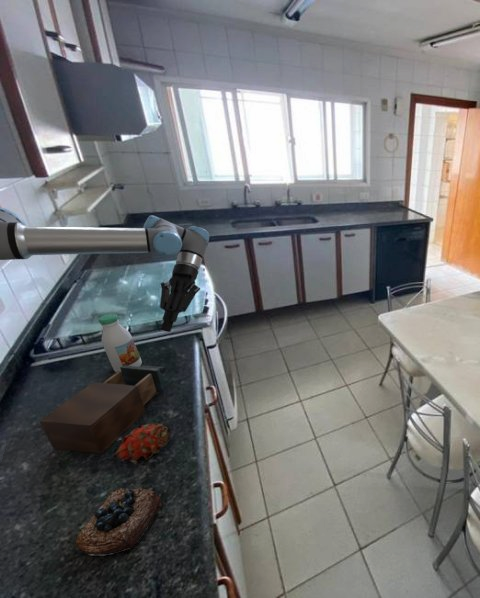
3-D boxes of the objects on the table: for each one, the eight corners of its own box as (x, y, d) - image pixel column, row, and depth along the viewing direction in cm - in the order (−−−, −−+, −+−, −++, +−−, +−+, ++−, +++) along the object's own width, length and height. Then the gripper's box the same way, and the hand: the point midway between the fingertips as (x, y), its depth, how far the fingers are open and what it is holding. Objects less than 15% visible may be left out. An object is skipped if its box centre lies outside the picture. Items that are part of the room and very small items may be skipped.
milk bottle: (115, 377, 108) (91, 325, 99) (114, 365, 114) (91, 315, 105) (143, 368, 113) (123, 318, 104) (141, 357, 118) (122, 308, 109)
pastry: (168, 495, 74) (161, 479, 71) (131, 557, 63) (120, 540, 60) (118, 496, 73) (108, 479, 70) (71, 558, 62) (58, 541, 60)
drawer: (140, 376, 108) (134, 357, 105) (174, 379, 108) (169, 360, 105) (91, 416, 92) (82, 394, 89) (131, 420, 92) (123, 398, 88)
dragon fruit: (181, 444, 88) (128, 474, 82) (168, 417, 90) (115, 444, 84) (173, 441, 81) (114, 473, 75) (159, 411, 83) (100, 440, 77)
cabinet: (103, 408, 96) (93, 381, 92) (146, 411, 96) (137, 385, 92) (53, 449, 83) (38, 420, 79) (102, 453, 83) (90, 425, 79)
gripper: (210, 273, 121) (191, 334, 113) (175, 270, 121) (154, 331, 113) (199, 264, 114) (177, 329, 106) (162, 261, 114) (138, 325, 106)
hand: (165, 330), depth 110 cm, fingers closed
